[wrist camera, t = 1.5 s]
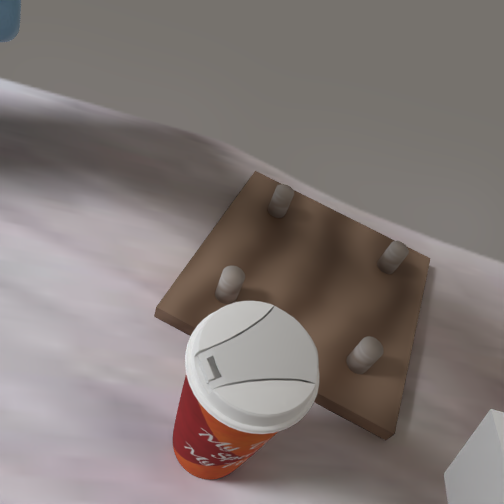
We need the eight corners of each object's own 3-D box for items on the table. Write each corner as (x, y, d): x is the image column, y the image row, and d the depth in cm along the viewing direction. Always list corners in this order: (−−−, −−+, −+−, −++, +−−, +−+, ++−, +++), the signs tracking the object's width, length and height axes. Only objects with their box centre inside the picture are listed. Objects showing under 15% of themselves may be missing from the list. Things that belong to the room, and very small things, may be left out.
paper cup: (177, 514, 32) (222, 447, 22) (144, 409, 36) (168, 309, 26) (276, 471, 36) (355, 395, 25) (236, 379, 40) (290, 281, 29)
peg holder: (154, 316, 41) (160, 286, 38) (251, 180, 56) (262, 150, 53) (385, 440, 40) (413, 420, 36) (423, 266, 54) (445, 241, 51)
